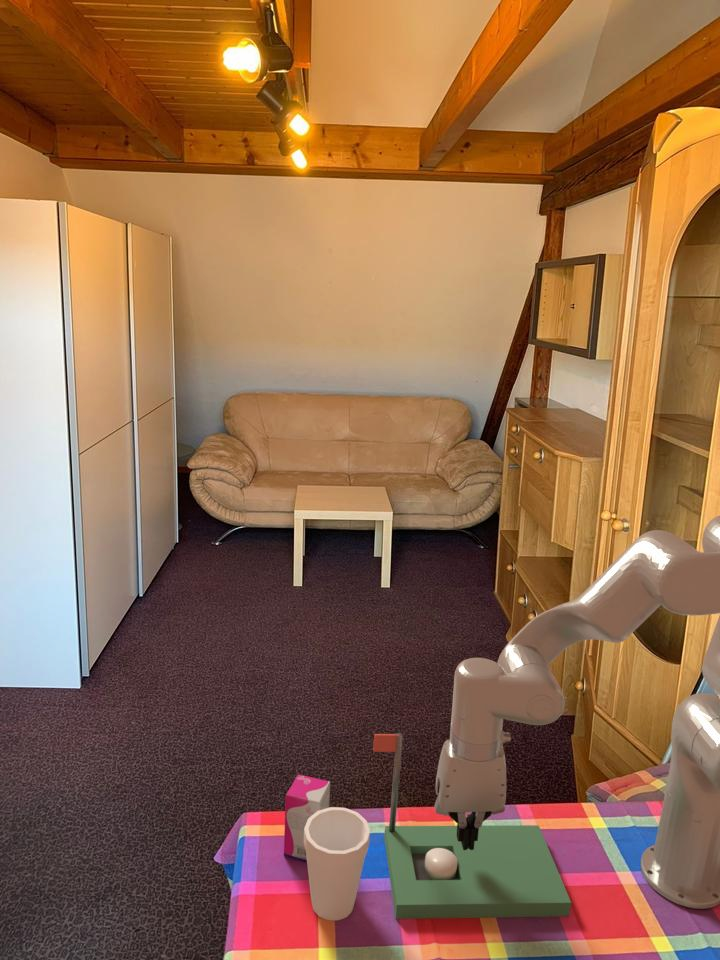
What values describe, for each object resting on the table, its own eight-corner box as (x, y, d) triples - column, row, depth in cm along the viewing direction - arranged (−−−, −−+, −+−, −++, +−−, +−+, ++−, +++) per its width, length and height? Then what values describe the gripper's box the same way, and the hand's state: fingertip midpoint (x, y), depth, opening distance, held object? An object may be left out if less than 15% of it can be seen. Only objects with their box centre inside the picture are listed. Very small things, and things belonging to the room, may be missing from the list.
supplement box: (328, 840, 124) (331, 780, 120) (316, 865, 118) (319, 804, 115) (295, 831, 125) (297, 772, 122) (282, 856, 119) (284, 795, 116)
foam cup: (356, 936, 106) (362, 860, 102) (293, 922, 108) (296, 846, 104) (369, 885, 115) (374, 813, 111) (311, 872, 117) (314, 801, 113)
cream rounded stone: (451, 857, 120) (452, 846, 119) (460, 881, 115) (461, 871, 115) (420, 859, 119) (421, 849, 119) (428, 884, 114) (429, 873, 114)
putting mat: (536, 837, 127) (552, 732, 121) (569, 916, 111) (588, 799, 106) (366, 838, 124) (373, 730, 119) (375, 919, 109) (384, 799, 103)
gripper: (517, 725, 115) (507, 825, 120) (421, 726, 114) (415, 827, 119) (531, 755, 108) (520, 860, 113) (429, 757, 107) (422, 863, 112)
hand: (466, 843), depth 116 cm, fingers closed
